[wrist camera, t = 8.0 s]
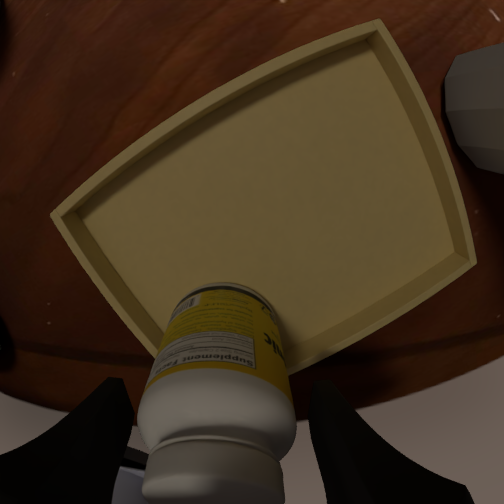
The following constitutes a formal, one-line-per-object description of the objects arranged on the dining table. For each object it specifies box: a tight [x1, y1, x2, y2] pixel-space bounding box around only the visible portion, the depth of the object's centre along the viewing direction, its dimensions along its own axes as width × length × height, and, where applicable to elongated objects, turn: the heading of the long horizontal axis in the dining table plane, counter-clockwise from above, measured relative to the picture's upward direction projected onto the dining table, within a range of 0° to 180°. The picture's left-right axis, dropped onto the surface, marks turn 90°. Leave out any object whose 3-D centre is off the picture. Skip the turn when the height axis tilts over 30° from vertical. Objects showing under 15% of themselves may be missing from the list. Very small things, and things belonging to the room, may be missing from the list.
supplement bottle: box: [137, 283, 297, 504], centre depth 11 cm, size 5×5×10 cm
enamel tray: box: [50, 19, 477, 376], centre depth 13 cm, size 17×13×2 cm
